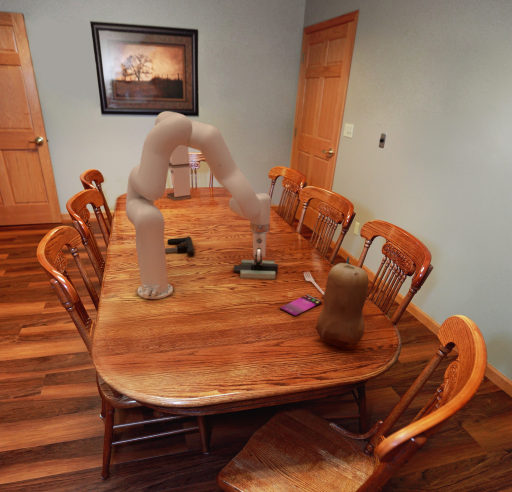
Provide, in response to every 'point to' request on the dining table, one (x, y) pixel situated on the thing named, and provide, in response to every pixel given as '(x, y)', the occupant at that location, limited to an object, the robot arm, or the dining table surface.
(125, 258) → the dining table surface
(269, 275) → the spoon rest
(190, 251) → the submachine gun
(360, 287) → the butternut squash
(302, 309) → the smartphone
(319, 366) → the dining table surface
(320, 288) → the fork
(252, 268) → the spatula
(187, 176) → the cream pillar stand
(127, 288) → the dining table surface
